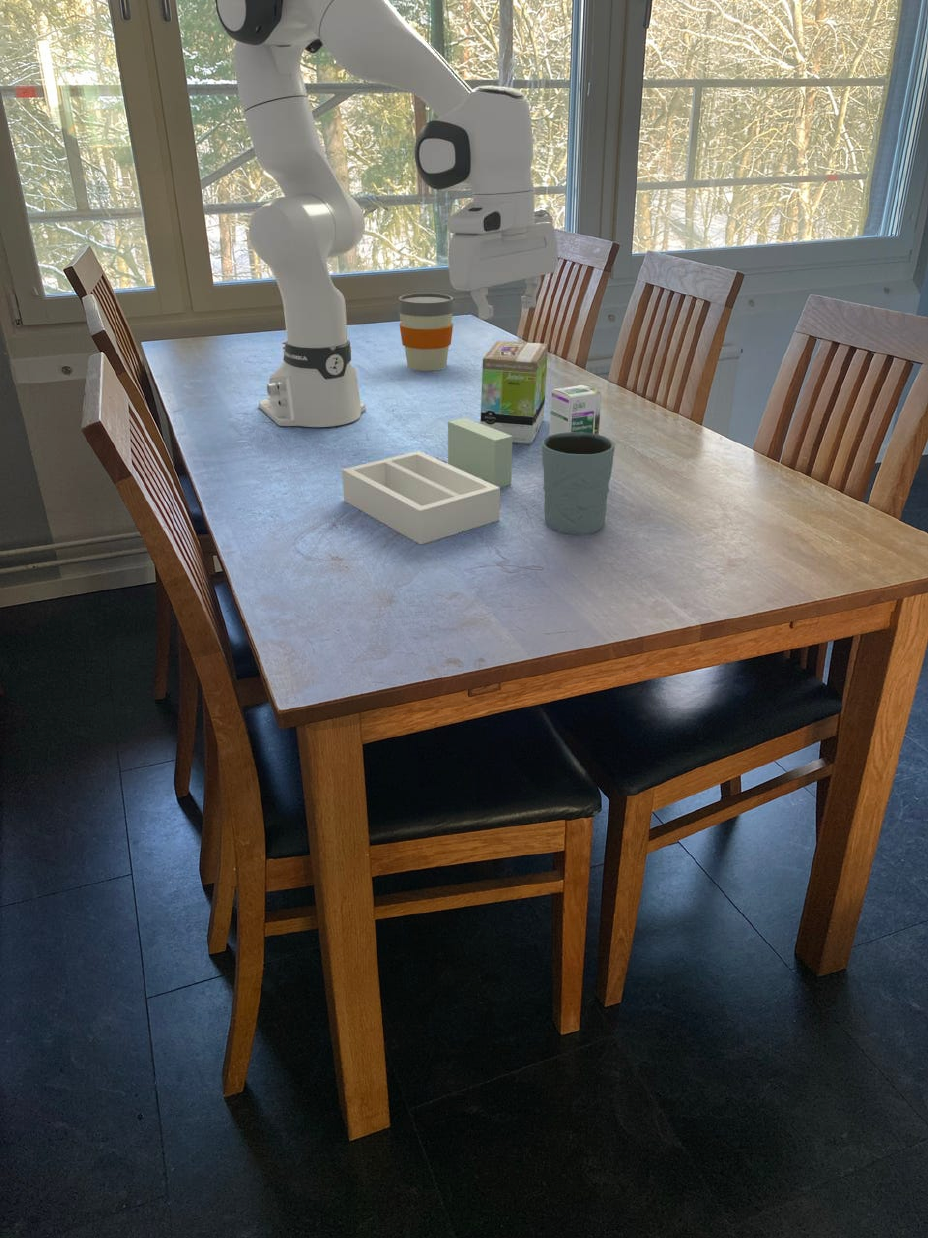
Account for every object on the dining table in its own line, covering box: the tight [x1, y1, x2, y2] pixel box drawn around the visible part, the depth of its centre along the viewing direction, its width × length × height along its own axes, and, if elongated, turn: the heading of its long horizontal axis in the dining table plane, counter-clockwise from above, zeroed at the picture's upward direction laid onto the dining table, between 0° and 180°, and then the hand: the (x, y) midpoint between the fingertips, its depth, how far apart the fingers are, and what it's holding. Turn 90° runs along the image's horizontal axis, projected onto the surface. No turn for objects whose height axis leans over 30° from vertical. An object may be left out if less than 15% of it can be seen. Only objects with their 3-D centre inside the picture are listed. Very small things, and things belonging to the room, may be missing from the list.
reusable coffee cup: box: [397, 292, 455, 372], centre depth 208 cm, size 13×13×15 cm
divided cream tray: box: [341, 450, 501, 545], centre depth 136 cm, size 20×15×5 cm
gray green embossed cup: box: [541, 432, 616, 536], centre depth 131 cm, size 10×10×12 cm
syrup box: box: [548, 384, 602, 436], centre depth 145 cm, size 6×6×14 cm
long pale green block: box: [447, 417, 513, 489], centre depth 148 cm, size 12×4×8 cm, turn 38°
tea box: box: [479, 340, 549, 445], centre depth 167 cm, size 15×10×15 cm, turn 168°
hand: (507, 313), depth 140 cm, fingers open, 8 cm apart
